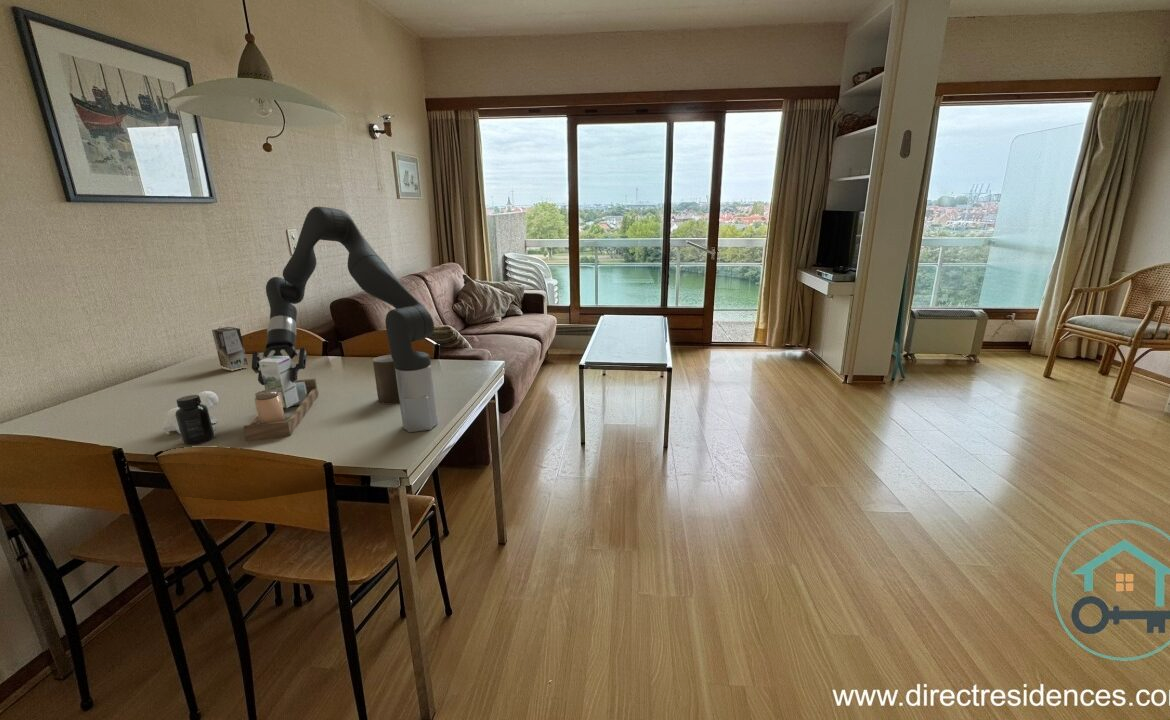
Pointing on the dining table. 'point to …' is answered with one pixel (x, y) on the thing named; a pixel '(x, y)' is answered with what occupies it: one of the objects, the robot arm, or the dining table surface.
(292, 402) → the syrup box
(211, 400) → the white rounded figurine
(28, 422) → the dining table surface
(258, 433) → the wooden tray
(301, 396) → the grey box
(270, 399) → the jar
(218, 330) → the coffee box
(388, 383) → the pillar candle
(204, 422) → the supplement bottle
